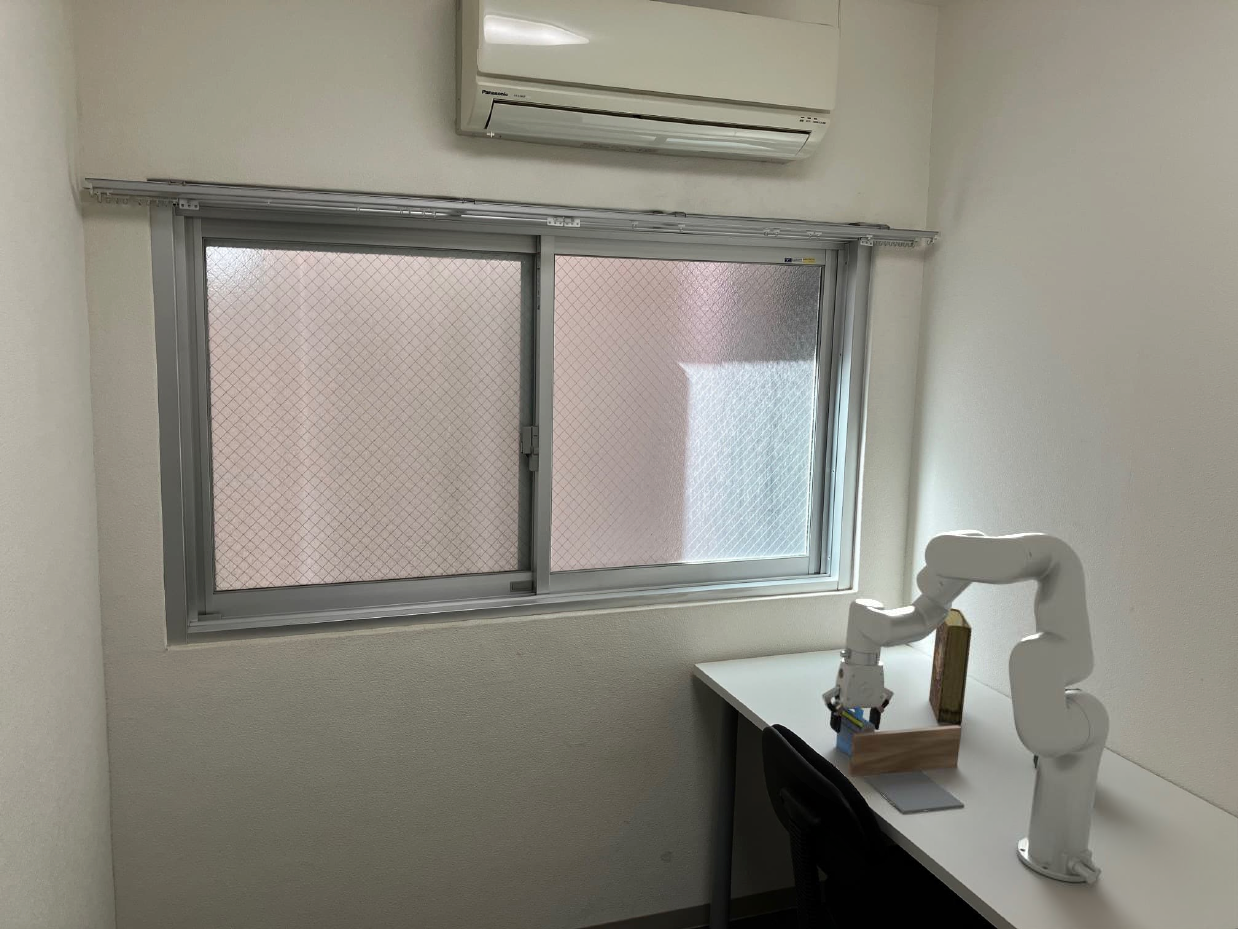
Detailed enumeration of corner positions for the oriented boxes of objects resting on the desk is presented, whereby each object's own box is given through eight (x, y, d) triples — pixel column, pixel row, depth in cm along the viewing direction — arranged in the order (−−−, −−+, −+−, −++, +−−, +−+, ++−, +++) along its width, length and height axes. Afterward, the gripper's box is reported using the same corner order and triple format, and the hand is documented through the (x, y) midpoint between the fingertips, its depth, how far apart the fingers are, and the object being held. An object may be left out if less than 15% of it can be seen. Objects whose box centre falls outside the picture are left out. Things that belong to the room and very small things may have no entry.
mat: (963, 806, 174) (964, 804, 174) (902, 813, 171) (902, 811, 171) (921, 773, 188) (921, 771, 188) (864, 779, 184) (864, 776, 184)
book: (928, 698, 230) (937, 606, 227) (949, 701, 229) (959, 609, 226) (937, 724, 214) (948, 625, 211) (961, 727, 213) (972, 628, 210)
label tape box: (873, 761, 192) (878, 708, 191) (858, 764, 191) (863, 710, 189) (849, 744, 200) (853, 693, 199) (834, 746, 199) (838, 694, 197)
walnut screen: (957, 766, 192) (961, 727, 191) (852, 776, 185) (856, 736, 184) (953, 764, 193) (957, 725, 192) (849, 773, 186) (853, 733, 185)
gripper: (835, 663, 187) (828, 739, 189) (906, 660, 191) (897, 733, 194) (818, 651, 194) (811, 724, 196) (886, 648, 199) (879, 719, 201)
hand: (854, 728), depth 195 cm, fingers open, 9 cm apart
